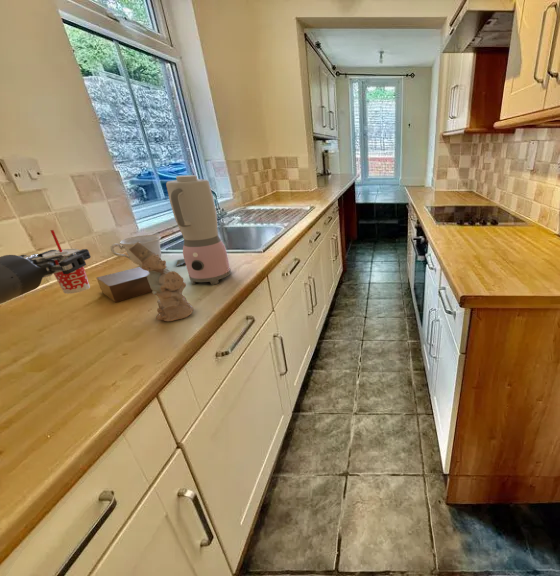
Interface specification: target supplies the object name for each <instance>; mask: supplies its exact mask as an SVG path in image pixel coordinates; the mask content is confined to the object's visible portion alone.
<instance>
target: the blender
mask: <svg viewBox="0 0 560 576" xmlns="http://www.w3.org/2000/svg"><path fill="white" fill-rule="evenodd" d="M175 178H176V179H175V180H168V181H166V183H165V185H166V190H167V195H168V199H169V202H170V208H171V211H172V214H173V217H174V220H175V222H176V224H177V226H178V229H179V231H180V233H181V235H182V238H183V246H182V255H183V259H184V260H185V263H186V265H185V266H186V270H187V274H188V277H189V280H190V283H191V284H192V285H195V284H196V283H208V282H209V283H210V285H212V286H213V285H217V284H219V283H220V282H219V281H220V280H223V279H224V278H226V277H227V278H228V276H230V275H231V273H232V269H231V267H230V262H229V257H228V252H227V248H226V246H225V244H224V242H223V240H222V239H221V238H220V236H219V231H218V215H217V209H216V204H215V199H214V195H213V192H212V189H211V185H210V181H209V180H208V179H203V178H198V177H197V175H194V174H193V175H192V174H188V175H185V174H184V175H177V176H176V177H175Z"/></svg>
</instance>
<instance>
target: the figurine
mask: <svg viewBox="0 0 560 576" xmlns="http://www.w3.org/2000/svg"><path fill="white" fill-rule="evenodd" d="M129 250H130V251H131V252H132V253H133V254H134V255H135V256H136V257H137V258H138V259H139V260H140V261H141V262H142V269H143V270H147V271H148V272H149V275H147V279H148V282H149V284H150V288H151V289H152V290H153V291H152V292H151V293H152V294H153V295H154V296H157V298H158V300H157V306H158V308H157V309H156V311H157V315H156V318H155V319H156V320H157V321H165V322H173V321H176V320H182V319H186V318H188V317H189V316H190V315H191V314H192V313H193V312H194V308H193V306H192V305H191V303H190V302H189V301H188V300H187V298H186V297H185V295H184V294H183V291H184V289H185V288H186V286H187V284H186V282H185V279H184V277H182V275H181V274H180V273H178V272H177V271H171V270H169V269H167V261H166V260H165V259H162V257H161V258H160V257H159V255H158V254H155V253H153V252H152V251H150V250H149V249H147V248H146V247H145V246H144V245H142V244H141V243H140V242H137V243H135V244H134V245H133V246H132V247H131V248H130V249H129Z"/></svg>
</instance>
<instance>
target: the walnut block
mask: <svg viewBox="0 0 560 576" xmlns="http://www.w3.org/2000/svg"><path fill="white" fill-rule="evenodd" d="M147 275H149V272H148V271H147V270H143V269H142V268H141V267H140V266H138V267H137V266H136V267H133V268H129V269H125V270H121V271H117V272H113V273H110V274H104V275H101V276H97V277H96V281H97V283H98V286H99V289H100V291H101V293H102V294H103V295H105V296H106V297H107V298H108V299H110V300H111V301H113V302H114V303H119V302H121V301H125V300H129V299H132V298H134V297H138V296H142V295H145V294H148V293H152V292H153V290H152V289H151V288H150V284H149V282H148V279H147Z"/></svg>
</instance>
